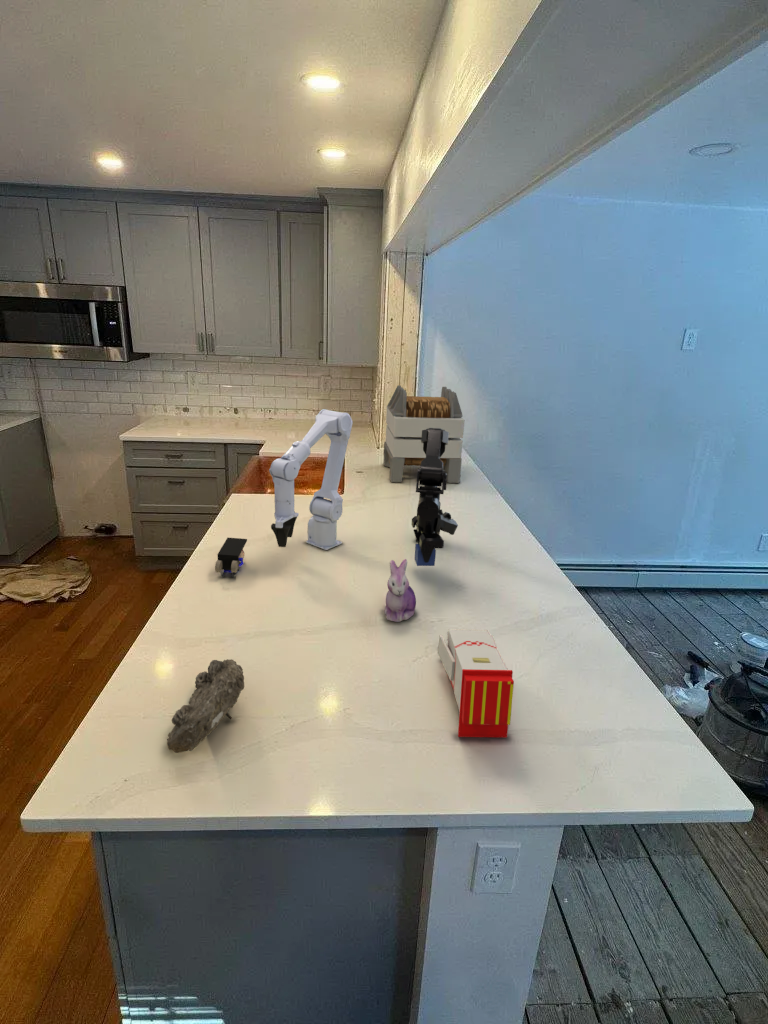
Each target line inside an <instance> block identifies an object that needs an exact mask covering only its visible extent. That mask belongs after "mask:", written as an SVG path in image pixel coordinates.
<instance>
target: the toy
mask: <svg viewBox="0 0 768 1024" xmlns="http://www.w3.org/2000/svg"><path fill="white" fill-rule="evenodd" d="M446 640H447V643H446V641H445V639H444V636H443V635H442V634H439V637H438V646H437V656H438V657H439V659H440V661H441V663H442V666H443V668H444V670H445V672H446V674H447V677H448V679H449V681H450V684H451V687H452V690H453V693H454V697H455V701H456V705H457V708H458V711H459V714H458V715H459V716H458V730H457V731H458V732H457V737H458V738H508V731H509V726H510V725H511V717H512V707H513V697H514V696H513V695H514V684H515V680H514V679H513V673H514V671H513V670H512V669H508V667H507V665H506V662H505V661H504V659H503V658H502V655H501V653H500V651H499V649H498V647H497V643H496V639H495V637H494V635H493V634H491V632H490V631H489V629H467V628H466V629H465V628H463V629H461V628H460V629H459V628H448V630H447V639H446Z"/></svg>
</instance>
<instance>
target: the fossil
mask: <svg viewBox="0 0 768 1024" xmlns="http://www.w3.org/2000/svg"><path fill="white" fill-rule="evenodd" d="M243 670H244V669H243V667H242V665H240V664H237V662H236V661H235V660H234V659H232V658H231V659H227V658H226V659H224V660H223V661H222V660H217V659H212V660H211V661H210V663H209V665H208V666H207V671H201V672H199V673H198V674H197V675H196V676H195V680H194V684H195V685H194V687H195V689H194V690H193V693H192V694H191V697H190V698H189V700H188V704H184V705H182V706H181V707H180V709H177V710H176V711H175V713H174V715H173V716H172V718H171V723H172V724H173V727H172V730H171V731H170V732H168V734H167V738H166V741H167V742H166V745H167V749H168V750H169V751H173V752H174V753H176V754H178V753H182V752H188V751H189V752H192V751H193V750H195V748H196V747H197V746H199V744H200V743H201V742H203V741H204V740H205V739H206V738H207V737H208V736H209V735H210V734H211V733H212V732H214V730H215V729H217V727H218V726H219V724H220V722H221V721H222V720H223V719H224V718H225V716H226V717H227V719H229V720H233V717H232V715H230V714H229V710H230V709H231V708H234V706H235V704H236V703H237V702H238V699H239V697H240V695H241V693H242V691H243V690H245V689H244V688H245V675H244V671H243Z"/></svg>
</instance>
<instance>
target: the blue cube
mask: <svg viewBox="0 0 768 1024" xmlns="http://www.w3.org/2000/svg"><path fill="white" fill-rule="evenodd" d="M414 547H415V548H414V562H415V564H416V566H417V567H435V565H436V553H437V549H436V548H434V550H433V552H432V554H431V557H430V559H429V562H428V563H425V562H424V559H423V556H422V553H421V549H420V546H419V544H418V543H415V546H414Z"/></svg>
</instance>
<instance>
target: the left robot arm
mask: <svg viewBox="0 0 768 1024" xmlns="http://www.w3.org/2000/svg"><path fill="white" fill-rule="evenodd" d="M353 422H354V421H353V419H352V416H351V415H350V413H348V412H341V411H335V410H331V409H326V408H323V409H321V410H319V412H318V414H316V415H315V418H314V423H313V425H312V426H311V427H310V428H309V430H308V431H307V433H306V434H305V435H304V436H303V438H302V439H301V440H295V441H293V443H292V444H291V446H290V447H289V448H288V449H287V450H286V452H284V453H283V454H282V456H281V457H278V458H276V459H274V460H273V461H272V462H271V464H270V468H269V469H268V471H269V474H270V476H271V478H272V482H273V487H274V488H273V489H274V513H273V514H274V520H275V521H274V522H275V523H274V522H273V523H272V524H271V525H270V528H271V531H272V532H273V534H274V536H275V539H276V542H277V547H279V548H286V547H287V544H288V538H292V537H293V534H294V529H295V524H296V522H297V519H298V517H299V512H295V479H296V478H297V477H298V475H299V471H300V469H301V466H302V465H303V463H304V462H305V461H306V460H307V459H308V458H309V457H310V455H311V449H312V448H313V447H314V446H315V445H316V444H317V442H319V441H320V439H322V438H323V437H324V436H325V435H326V436H327V437H328V438H329V440H330V445H329V449H328V454H327V459H326V463H325V469H324V473H323V477H322V483H321V487H320V488H319V489H318V490H316V491H315V492H314V493H313V496H312V499H311V501H310V503H309V507H308V508H309V509H308V510H309V512H310V514H311V515H312V516H310V518H309V519H308V522H307V540H305V543H306V544H309V545H311V546H314V547H317V548H319V549H322V550H325V551H328V550H331V549H332V548H335V547H337V546H339V545H342V544H343V541H341V540H338V537H337V536H338V533H337V532H338V521H339V519H340V518H341V517H342V515H343V511H344V510H343V502H344V499H343V497H342V496H341V494H340V493H339V486H340V481H341V476H342V472H343V467H344V463H345V458H346V453H347V448H348V444H349V440H350V437H351V433H352V427H353Z"/></svg>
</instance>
